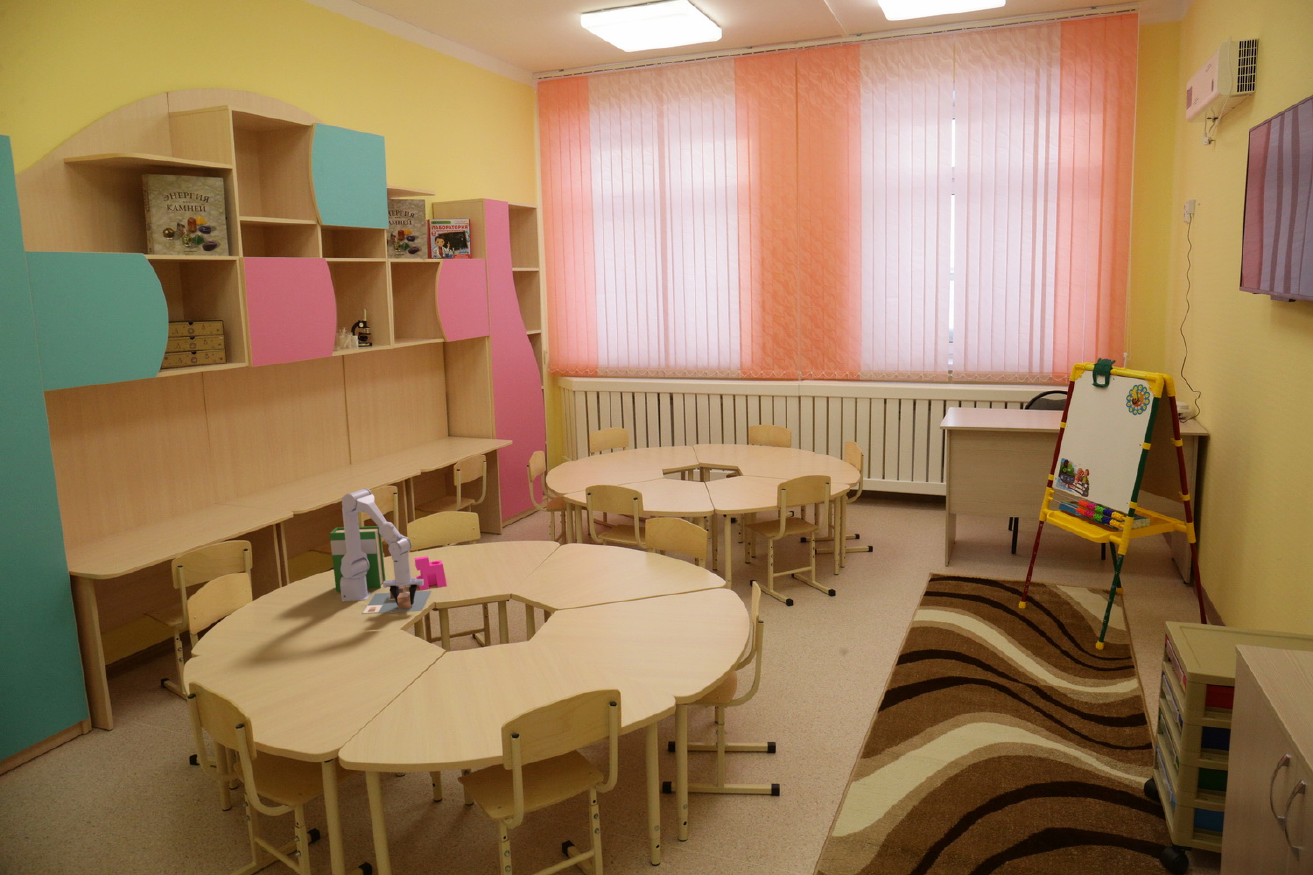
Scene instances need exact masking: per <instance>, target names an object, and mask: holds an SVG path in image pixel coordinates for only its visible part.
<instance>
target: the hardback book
mask: <svg viewBox="0 0 1313 875" xmlns="http://www.w3.org/2000/svg"><path fill="white" fill-rule="evenodd" d="M359 531H360V541H361V551H362V552H364V553H366V554H367V559H368V561H369V569H368V571H367V574H366V582H367V590H368V589H381V588H382V585H383V582H384V581H387V580H386V571H385V570H386V569H385V560H384V552H383V543H382V542H383V540H382V536H381V534H380V533H379V526H378V525H376V526H359ZM329 539H330V547H331V548H330V549H331V557H332V565H333V573H334V576H333V577H334V582H335V591H336V592H341V588H340V581H341V578H342V577H343V575H342V573H341V564H342V561H341V560H342V558H343V557H344V556H345V554H346V553H347V551H346V541H345V532H344V526H343V527H335V528H334V529H333V530H331V532H329Z"/></svg>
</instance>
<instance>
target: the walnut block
mask: <svg viewBox="0 0 1313 875" xmlns="http://www.w3.org/2000/svg"><path fill="white" fill-rule="evenodd" d="M407 592H408V591H407V586H401V587H399V594H400V593H407ZM389 593H390V597H391V599H395V598H394V596H393V595H392V593H391V592H390V591H389Z"/></svg>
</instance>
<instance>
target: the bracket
mask: <svg viewBox="0 0 1313 875" xmlns="http://www.w3.org/2000/svg"><path fill="white" fill-rule="evenodd" d="M414 566H415V569H416V571H420V575H416V578H415V579H423V581H424V584H423V586H420V585H418V587H419V590H420V591H427V590H430V586H432V585H436V586H437V588H444V587H447V586H448V585H447V584H448V583H447V579H446V575H445V573H446V572H445V569H444V563H443V562H442V560H441V559H439V560H432V561H430V559H429V556H428V555H425V556H417V557H414Z"/></svg>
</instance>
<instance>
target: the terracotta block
mask: <svg viewBox="0 0 1313 875" xmlns="http://www.w3.org/2000/svg"><path fill="white" fill-rule="evenodd" d="M397 600H398V609H407V608H411V607H412V605H411V601H410V593H400V594H399V596H398V597H397Z"/></svg>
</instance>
